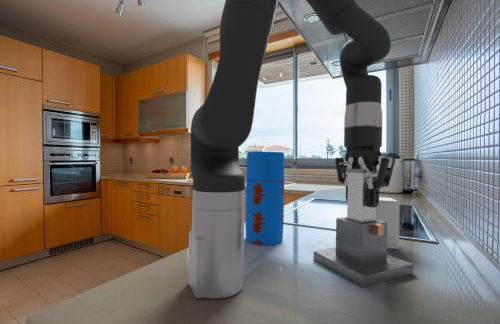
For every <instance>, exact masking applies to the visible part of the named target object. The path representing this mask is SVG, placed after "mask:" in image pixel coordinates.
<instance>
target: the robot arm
mask: <svg viewBox="0 0 500 324" xmlns="http://www.w3.org/2000/svg"><path fill="white" fill-rule="evenodd" d="M224 1H225V2H224V6H223V8H222V13H221V18H220V26H219V57H218V63H217V67H216V70H215V73H214V77H213V79H212V83H211V86H210V88H209V90H208V94H207V96H206V99H205V100H204V102H203V104H201V106H200V107H198V109H197V110H196V111H195V113H194V114H193V117H192V119H191V125H190V171H191V177H192V211H191V212H192V213H191V215H192V217H191V220H192V221H191V222H192V223H191V230H188V231H189V232H188V269H187V272H188V274H187V275H188V277H187V283H188V285H189V287H190V289H191V291H192V293H193V295H194V297H195V299H203V298H204V299H214V300H215V299H225V298H229V297H233V296H235V295H236V294H238V293H239V292H241V291H242V289H244V288H243V287H244V276H245V271H244V267H245V265H244V259H245V258H244V256H245V255H244V254H245V206H246V175H245V174H244V173H243V170H242V169H241V165H240V158H239V156H240V155H239V152H240V151H239V147H240V146H242V145H243V144H244V143H245V142H246V141H247V140H248V138H249V136H250V134H251V131H252V127H253V123H254V116H255V115H254V114H255V109H256V108H255V107H256V99H257V91H258V84H259V78H260V74H261V70H262V67H263V63H264V59H265V57H266V52H267V49H268V44H269V40H270V37H271V33H272V29H273V25H274V21H275V17H276V12H277V8H278V2H279V0H224ZM305 1H306V3H308V4H309V7H311V9H312V10H313V12H314V13H315V15H316V16H317V17H318V19H319V20H320V22H321V23H322V24H323V26H324V27H325V29H326V30H327V31H328V32H329V34H330V35H332V36H338V35H341V34H346V35H347V36H348V37H349V38H350V39H349V40H348V41H346V43H345V44H343V46H342V48H341V51H340V54H339V55H340V56H339V65H340V68H341V74H342V78H343V82H344V85H345V88H346V89H345V90H346V91H345V111H344V117H343V118H344V121H343V123H344V124H343V126H344V129H343V130H344V131H343V147H344V148H345V149H346V152H345V155H344V156H342V157H335V159H334V163H335V167H336V174H337V180H338V183H342V184H343V185H344V186H345V200H346V201H347V200H348V172H346V169H365V173H364V178H365V179H366V181H367V184H368V188H369V189H367V206H368V207H371V208H373V207H377V205H378V204H379V197H380V190H381V189H382V188H384V187H385V188H387V187H389V186H390V183H391V179H392V175H393V172H394V171H393V170H394V168H395V167H394V166H395V163H396V159H395V158H394V157H390V156H388V157H387V156H383V154H382V153H381V147H382V146H383V110H382V87H383V86H382V81H381V78H380V77H379V76H377V75H374V74H369V73H368V67H370V66H372V65H374V64H376V63H378V62H380V61H382V60H383V59H385V58H387V56H388V55H389V53H390V51H391V48H392V47H391V46H392V44H391V43H392V41H391V36H390V34H389V32H388V31H387V29H386V28H385V26H384V25H383V24H381V23H380V22H379V21H378V20H377V19H376V18H374V17H373V16H372V15H370V14H369V13H368V12H367V11H365V10H364V9H363V8H362V7H360V6H359V5H358V3H357V1H356V0H305ZM378 166H379V168H378ZM378 169H379V171H378ZM374 170H375V173H370V172H369V171H374Z"/></svg>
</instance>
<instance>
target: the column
mask: <svg viewBox="0 0 500 324" xmlns="http://www.w3.org/2000/svg"><path fill="white" fill-rule="evenodd" d="M378 171H379V168H378ZM346 172H348V200H346V203H347V206H346V207H347V208H346V210H347V215H346V217H347V220H350V221H353V222H357V223H361V224H367V223H375V222H376V207H373V208H371V207H368V206H367V189H369V188H368V184H367V181H366V179H365V178H364V173H365V169H346ZM369 172H370V173H375V170H374V171H369Z"/></svg>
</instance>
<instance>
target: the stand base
mask: <svg viewBox="0 0 500 324" xmlns="http://www.w3.org/2000/svg"><path fill="white" fill-rule="evenodd" d="M335 220H336V221H335V222H336V223H335V247H330V248H324V249H319V250H318V249H317V250H313V259H312V260H313V261H315V262H317V263H318V264H321V265H322V266H325V267H326V268H328V269H329V270H331V271H333V272H335V273H337V274H339V275H340V276H343V277H345V278H347V280H350V281H352V282H354V283H356V284H358V285H359V286H361V287H363V288H366V287H370V286H373V285H377V284H382V283H385V282H389V281H392V280H396V279H399V278H403V277H406V276H410V275H413V274H414V263H411V262H409V261H406V260H403V259H400V258H398V257H395V256H394V255H393V256H392V255H390V254H388V248H387V223H388V222H384V221H379V220H376V222H375V223H367V224H361V223H357V222H353V221H350V220H347V216H344V217H336V219H335Z"/></svg>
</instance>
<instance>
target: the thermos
mask: <svg viewBox="0 0 500 324" xmlns="http://www.w3.org/2000/svg"><path fill="white" fill-rule="evenodd" d="M285 162H286V161H285V153H284V152H280V151H247V153H246V169H245V170H246V175H245V239H246V242H248V243H250V244H253V245H259V246H276V245H279V244H281V243H282V242H283V239H284V237H283V236H284V221H285V220H284V217H285V215H284V212H285V209H284V208H285V207H284V205H285Z"/></svg>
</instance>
